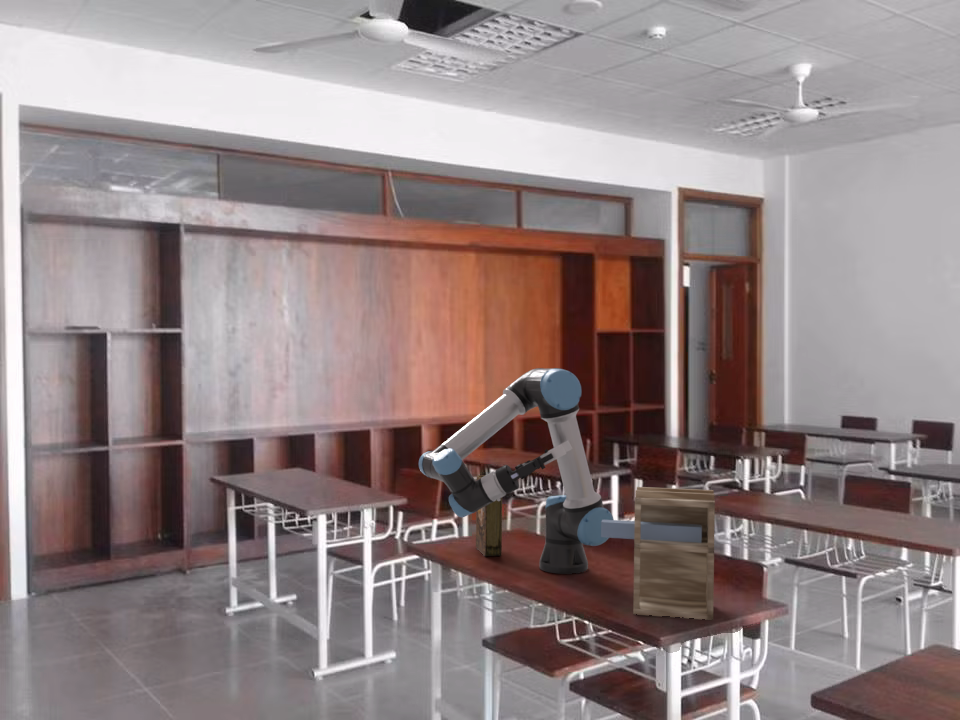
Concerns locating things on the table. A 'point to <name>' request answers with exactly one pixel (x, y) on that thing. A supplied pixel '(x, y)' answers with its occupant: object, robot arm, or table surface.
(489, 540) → the book
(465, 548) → the table surface
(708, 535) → the shelf stand
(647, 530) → the block
